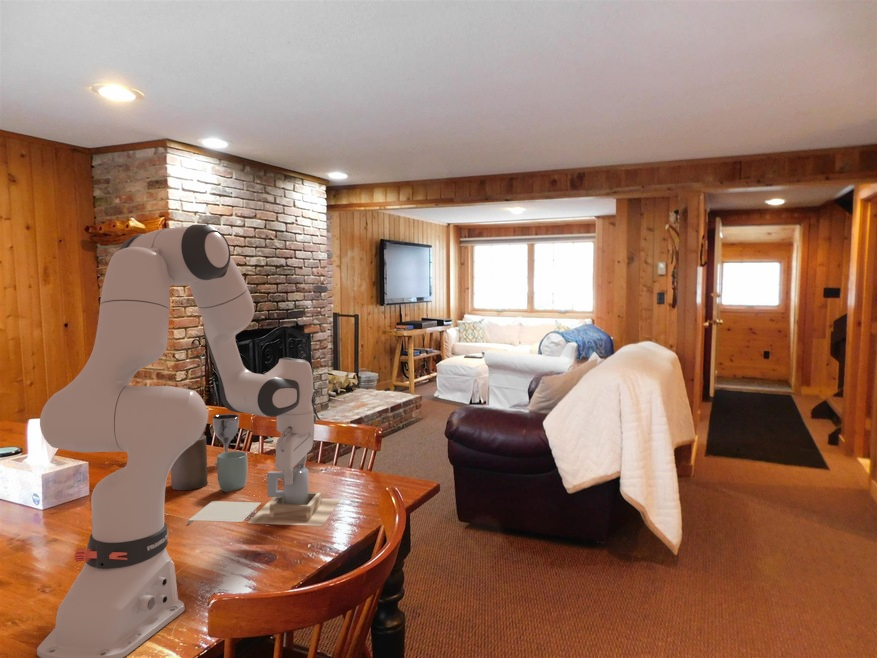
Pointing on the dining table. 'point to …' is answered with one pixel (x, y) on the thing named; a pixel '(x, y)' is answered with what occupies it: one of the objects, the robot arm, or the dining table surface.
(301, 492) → the light blue mug
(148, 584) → the robot arm
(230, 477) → the cup
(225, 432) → the wine glass
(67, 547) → the dining table surface
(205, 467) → the pillar candle
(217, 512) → the mat
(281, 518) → the holder
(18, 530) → the dining table surface
